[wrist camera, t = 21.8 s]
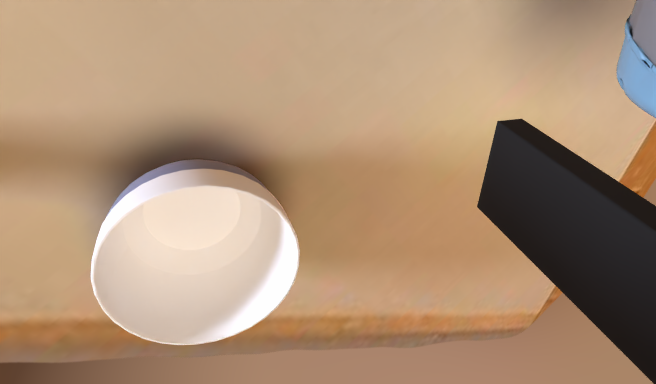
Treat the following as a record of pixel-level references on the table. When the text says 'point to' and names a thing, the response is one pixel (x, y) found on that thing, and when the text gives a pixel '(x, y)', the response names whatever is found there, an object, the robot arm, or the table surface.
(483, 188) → the robot arm
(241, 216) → the bowl
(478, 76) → the table surface
